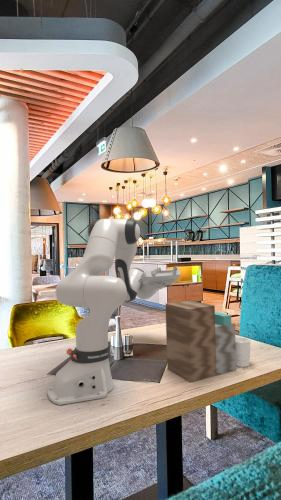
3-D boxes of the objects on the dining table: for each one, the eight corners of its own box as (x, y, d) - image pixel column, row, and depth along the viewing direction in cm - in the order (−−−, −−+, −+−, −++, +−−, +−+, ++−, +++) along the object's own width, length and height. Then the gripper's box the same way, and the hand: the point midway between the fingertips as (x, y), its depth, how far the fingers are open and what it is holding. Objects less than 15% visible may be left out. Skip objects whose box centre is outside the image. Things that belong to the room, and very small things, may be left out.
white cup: (252, 368, 126) (251, 342, 126) (231, 367, 128) (230, 342, 128) (249, 361, 134) (249, 337, 134) (230, 360, 136) (229, 336, 136)
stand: (190, 382, 115) (188, 309, 115) (167, 369, 128) (165, 303, 128) (236, 369, 125) (234, 302, 125) (210, 358, 138) (208, 298, 138)
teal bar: (224, 325, 122) (224, 316, 122) (186, 315, 143) (186, 307, 143) (231, 324, 124) (231, 315, 124) (192, 314, 145) (192, 306, 145)
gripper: (135, 277, 158) (146, 263, 147) (170, 274, 168) (183, 261, 157) (138, 288, 155) (150, 275, 144) (173, 285, 165) (187, 273, 154)
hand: (168, 268), depth 151 cm, fingers open, 8 cm apart
